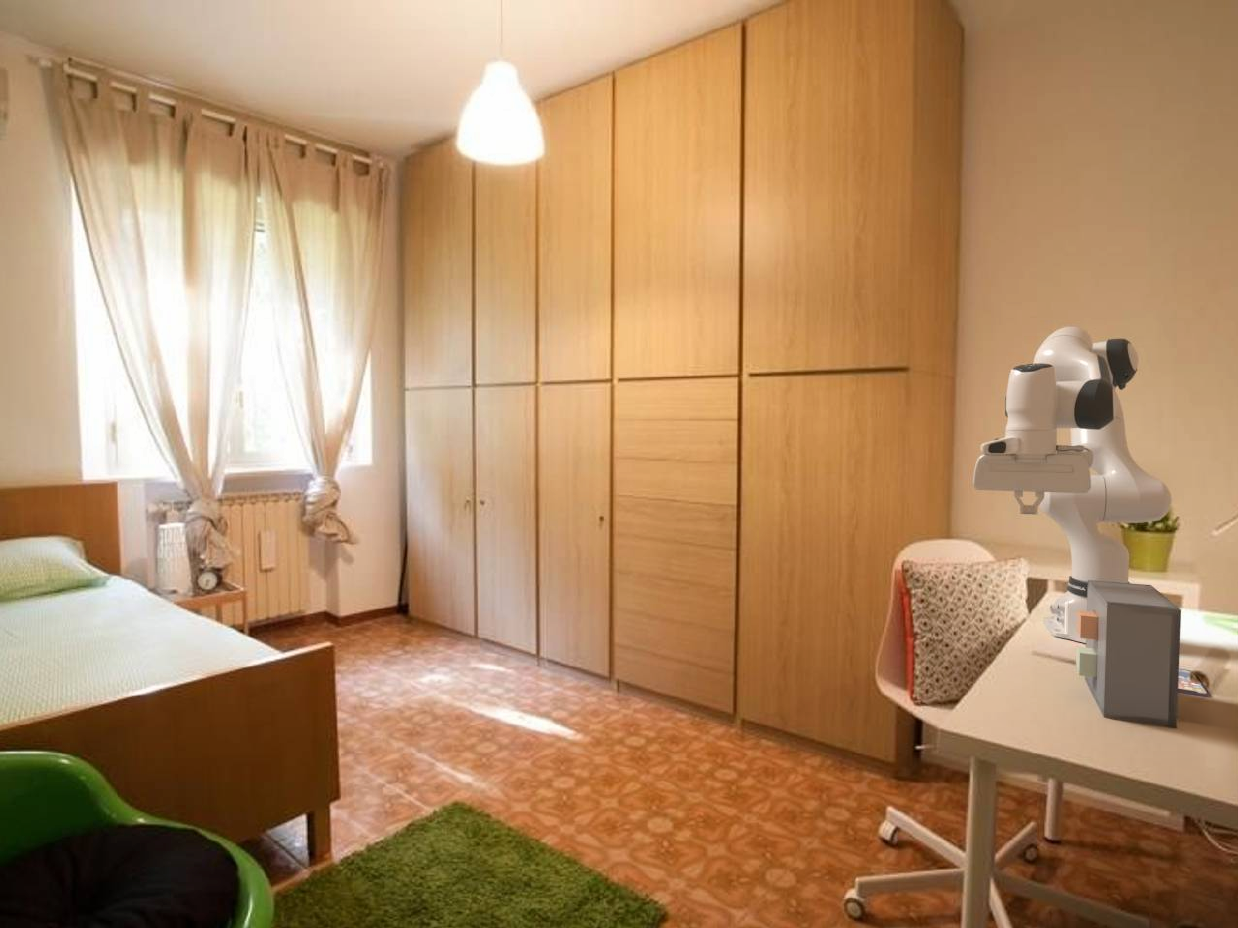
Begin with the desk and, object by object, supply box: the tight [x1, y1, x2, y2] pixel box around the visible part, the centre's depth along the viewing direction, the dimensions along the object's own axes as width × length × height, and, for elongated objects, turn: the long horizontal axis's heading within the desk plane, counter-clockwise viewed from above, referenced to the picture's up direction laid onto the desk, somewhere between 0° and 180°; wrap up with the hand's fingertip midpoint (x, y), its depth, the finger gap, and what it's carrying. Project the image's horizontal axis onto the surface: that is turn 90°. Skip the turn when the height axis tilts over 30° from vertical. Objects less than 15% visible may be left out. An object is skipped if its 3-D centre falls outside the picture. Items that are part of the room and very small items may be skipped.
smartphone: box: [1178, 668, 1210, 698], centre depth 134 cm, size 1×7×15 cm
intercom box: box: [1084, 580, 1182, 729], centre depth 123 cm, size 10×20×20 cm, turn 153°
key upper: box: [1077, 610, 1099, 640], centre depth 125 cm, size 5×4×4 cm
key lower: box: [1075, 646, 1097, 677], centre depth 126 cm, size 5×4×4 cm
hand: (1028, 514), depth 136 cm, fingers closed
